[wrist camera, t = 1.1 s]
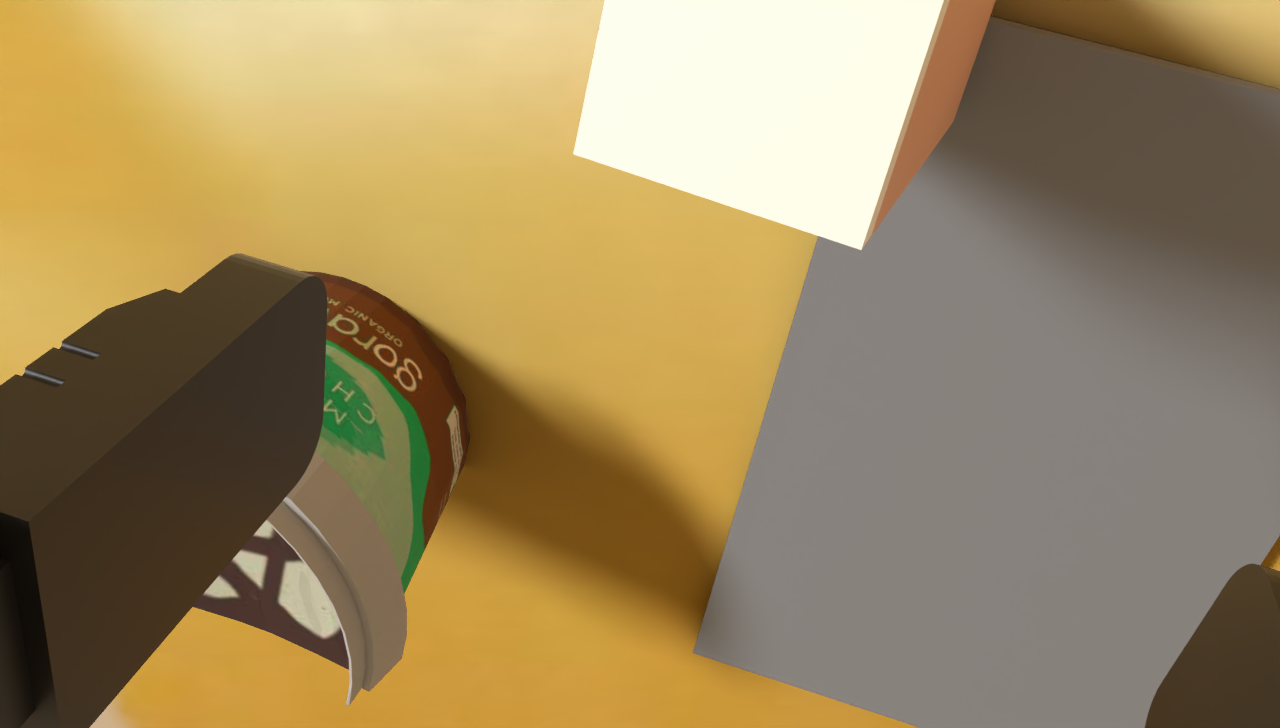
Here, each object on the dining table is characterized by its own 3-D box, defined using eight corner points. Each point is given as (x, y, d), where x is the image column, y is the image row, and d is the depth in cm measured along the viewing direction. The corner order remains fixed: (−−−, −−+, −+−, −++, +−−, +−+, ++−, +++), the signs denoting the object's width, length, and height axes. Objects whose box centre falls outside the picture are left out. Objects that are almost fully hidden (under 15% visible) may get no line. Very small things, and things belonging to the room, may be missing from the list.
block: (826, -131, 26) (640, -172, 15) (1023, -81, 24) (972, -86, 14) (772, 67, 27) (573, 153, 17) (953, 121, 26) (861, 250, 16)
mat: (892, -9, 26) (890, -3, 26) (1517, 149, 25) (1528, 158, 24) (696, 640, 38) (692, 652, 38) (1110, 775, 37) (1111, 790, 36)
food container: (560, 339, 34) (423, 553, 25) (504, 485, 37) (367, 715, 29) (187, 168, 34) (-69, 324, 26) (166, 328, 37) (-66, 512, 29)
